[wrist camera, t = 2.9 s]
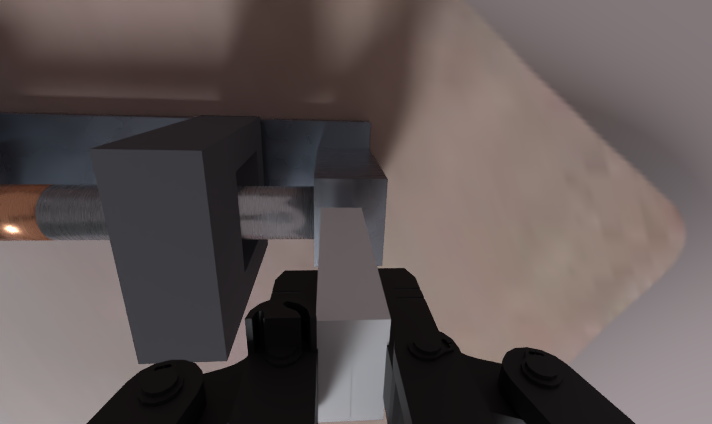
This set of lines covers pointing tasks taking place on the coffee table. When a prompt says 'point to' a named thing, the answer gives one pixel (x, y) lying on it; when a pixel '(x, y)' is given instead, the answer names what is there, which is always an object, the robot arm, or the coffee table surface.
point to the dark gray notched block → (182, 232)
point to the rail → (256, 203)
